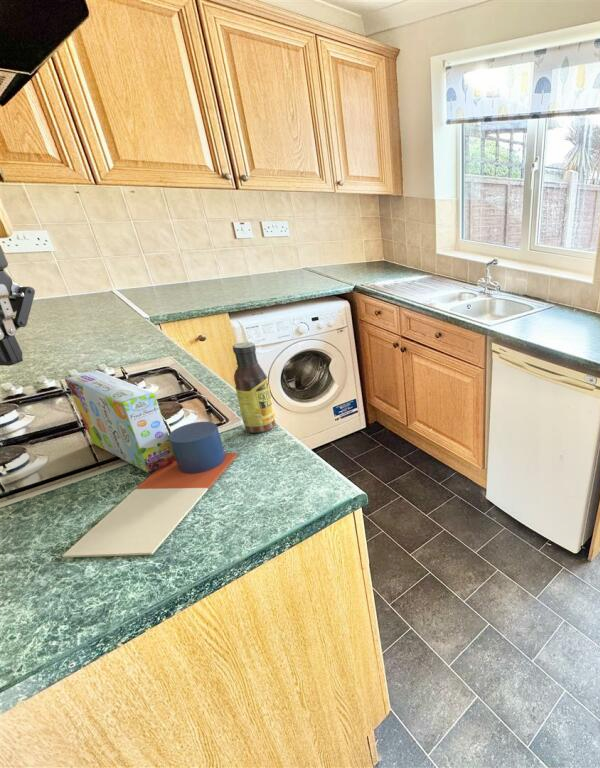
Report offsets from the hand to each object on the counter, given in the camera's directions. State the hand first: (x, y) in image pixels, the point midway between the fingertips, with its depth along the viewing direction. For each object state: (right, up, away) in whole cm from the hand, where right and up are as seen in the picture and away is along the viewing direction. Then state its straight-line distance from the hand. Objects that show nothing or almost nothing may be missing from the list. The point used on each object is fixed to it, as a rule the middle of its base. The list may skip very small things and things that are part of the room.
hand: (9, 363), depth 57 cm
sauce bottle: (+12, -13, +38) cm, 42 cm away
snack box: (-7, -17, +27) cm, 33 cm away
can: (+8, -18, +25) cm, 32 cm away
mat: (+8, -23, +16) cm, 29 cm away
